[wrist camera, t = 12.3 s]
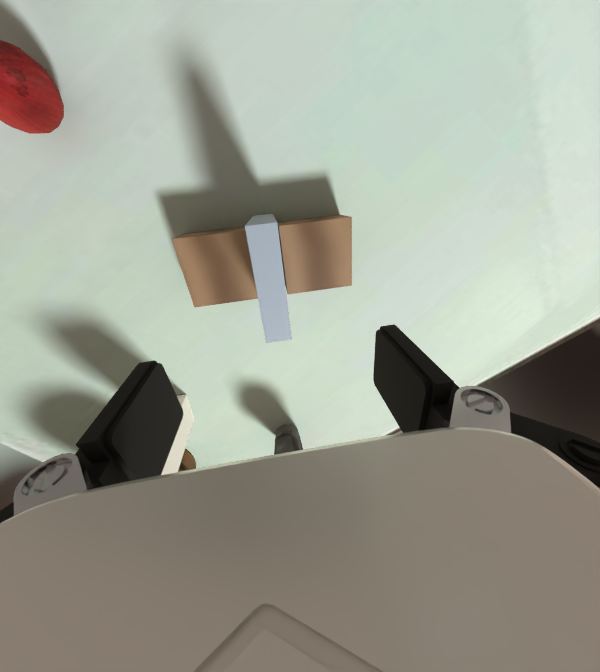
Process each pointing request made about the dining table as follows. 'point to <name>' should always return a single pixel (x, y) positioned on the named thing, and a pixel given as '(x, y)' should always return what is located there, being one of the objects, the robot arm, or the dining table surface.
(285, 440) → the beverage cup
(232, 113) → the dining table surface
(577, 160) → the dining table surface
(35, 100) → the red pomegranate
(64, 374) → the dining table surface
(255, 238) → the grey block
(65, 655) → the robot arm
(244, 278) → the slotted base
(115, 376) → the dining table surface
